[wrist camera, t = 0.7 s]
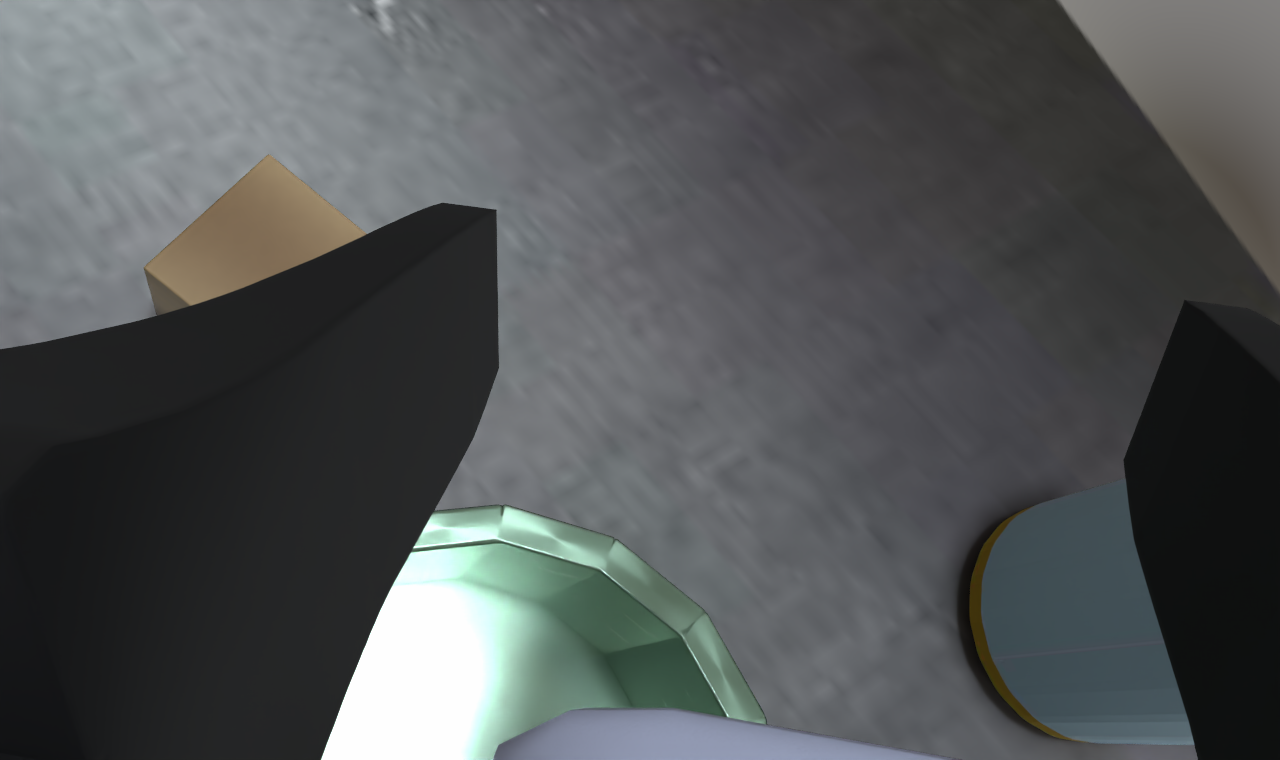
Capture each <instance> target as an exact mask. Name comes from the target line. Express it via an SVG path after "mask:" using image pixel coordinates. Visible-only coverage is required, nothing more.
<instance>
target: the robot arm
mask: <svg viewBox="0 0 1280 760" xmlns="http://www.w3.org/2000/svg"><path fill="white" fill-rule="evenodd" d="M498 369H499V353H498V288H497V223H496V210H493V209H486V208H478V207H471V206H463V205H455V204H448V203H440V204H437V205H433V206H430V207H427V208H425V209H422V210H420V211H417V212H415V213H412V214H410V215H408V216H406V217H403V218H401V219H399V220H397V221H395V222H392V223H390V224H388V225H386V226H384V227H382V228H379V229H377V230H375V231H373V232H371V233H369V234H367V235H364V236H362V237H360V238H358V239H356V240H354V241H351V242H349V243H347V244H345V245H343V246H341V247H338V248H336V249H334V250H332V251H330V252H328V253H325V254H323V255H321V256H319V257H317V258H314V259H312V260H310V261H307V262H305V263H302V264H300V265H297V266H295V267H292V268H290V269H288V270H285V271H283V272H280V273H278V274H275V275H273V276H270V277H268V278H266V279H263V280H261V281H258V282H256V283H253V284H251V285H248V286H246V287H244V288H241V289H238V290H236V291H233V292H230V293H227V294H224V295H222V296H219V297H216V298H213V299H210V300H207V301H204V302H201V303H198V304H195V305H191V306H188V307H185V308H181V309H178V310H175V311H171V312H168V313H165V314H161V315H158V316H155V317H151V318H147V319H144V320H140V321H136V322H132V323H128V324H123V325H119V326H114V327H110V328H105V329H101V330H96V331H92V332H87V333H83V334H78V335H74V336H69V337H65V338H60V339H56V340H51V341H47V342H42V343H36V344H31V345H25V346H19V347H13V348H6V349H0V760H321V759H322V757H323V754H324V751H325V749H326V746H327V743H328V741H329V738H330V735H331V733H332V730H333V728H334V725H335V722H336V720H337V717H338V714H339V712H340V709H341V706H342V704H343V701H344V699H345V696H346V693H347V691H348V688H349V686H350V683H351V681H352V678H353V676H354V674H355V671H356V669H357V666H358V664H359V661H360V659H361V656H362V654H363V651H364V649H365V646H366V644H367V641H368V639H369V637H370V634H371V632H372V629H373V627H374V624H375V622H376V619H377V617H378V615H379V613H380V611H381V609H382V607H383V605H384V603H385V601H386V599H387V597H388V594H389V592H390V590H391V588H392V586H393V584H394V582H395V581H396V579H397V577H398V575H399V573H400V571H401V570H402V568H403V566H404V564H405V562H406V561H407V559H408V557H409V555H410V553H411V552H412V550H413V548H414V546H415V544H416V542H417V541H418V539H419V537H420V535H421V533H422V532H423V530H424V528H425V526H426V524H427V523H428V521H429V519H430V517H431V515H432V514H433V512H434V510H435V508H436V506H437V504H438V503H439V501H440V499H441V497H442V495H443V494H444V492H445V490H446V488H447V486H448V484H449V483H450V481H451V479H452V477H453V475H454V473H455V471H456V470H457V468H458V466H459V464H460V462H461V460H462V459H463V457H464V455H465V453H466V451H467V449H468V447H469V445H470V443H471V441H472V440H473V438H474V435H475V432H476V430H477V427H478V425H479V422H480V419H481V417H482V414H483V411H484V409H485V406H486V403H487V400H488V397H489V395H490V392H491V389H492V386H493V383H494V380H495V377H496V374H497V371H498ZM1124 468H1125V477H1126V486H1127V495H1128V504H1129V511H1130V517H1131V524H1132V531H1133V538H1134V542H1135V546H1136V549H1137V553H1138V557H1139V560H1140V564H1141V567H1142V570H1143V574H1144V577H1145V580H1146V584H1147V587H1148V591H1149V594H1150V597H1151V601H1152V604H1153V607H1154V611H1155V614H1156V617H1157V620H1158V624H1159V627H1160V630H1161V633H1162V636H1163V640H1164V643H1165V646H1166V649H1167V653H1168V656H1169V659H1170V662H1171V666H1172V669H1173V672H1174V675H1175V679H1176V682H1177V685H1178V688H1179V692H1180V695H1181V698H1182V701H1183V705H1184V708H1185V711H1186V714H1187V718H1188V721H1189V725H1190V729H1191V733H1192V737H1193V741H1194V745H1195V749H1196V753H1197V757H1198V760H1280V326H1279V325H1278V324H1276V323H1274V322H1273V321H1271V320H1269V319H1268V318H1266V317H1264V316H1262V315H1260V314H1258V313H1256V312H1254V311H1252V310H1250V309H1248V308H1241V307H1233V306H1226V305H1218V304H1210V303H1203V302H1195V301H1188V300H1185V301H1184V303H1183V306H1182V309H1181V311H1180V314H1179V316H1178V319H1177V322H1176V324H1175V327H1174V330H1173V332H1172V335H1171V337H1170V340H1169V343H1168V345H1167V348H1166V351H1165V353H1164V356H1163V358H1162V361H1161V364H1160V366H1159V369H1158V371H1157V374H1156V377H1155V379H1154V382H1153V385H1152V387H1151V390H1150V392H1149V395H1148V398H1147V400H1146V403H1145V406H1144V408H1143V411H1142V413H1141V416H1140V419H1139V421H1138V424H1137V426H1136V429H1135V432H1134V434H1133V437H1132V440H1131V442H1130V445H1129V447H1128V450H1127V453H1126V455H1125V458H1124ZM492 760H961V759H956V758H950V757H945V756H939V755H933V754H928V753H922V752H917V751H911V750H906V749H900V748H894V747H889V746H883V745H878V744H872V743H867V742H861V741H855V740H850V739H844V738H839V737H833V736H828V735H822V734H816V733H811V732H805V731H800V730H794V729H789V728H783V727H778V726H772V725H766V724H761V723H755V722H750V721H744V720H739V719H733V718H727V717H722V716H716V715H711V714H705V713H700V712H694V711H688V710H683V709H677V708H580V709H575V710H570V711H568V712H565V713H563V714H561V715H559V716H557V717H555V718H553V719H551V720H549V721H547V722H545V723H543V724H541V725H539V726H537V727H535V728H532V729H530V730H528V731H526V732H524V733H522V734H520V735H518V736H516V737H514V738H512V739H510V740H508V741H506V742H504V743H502V744H500V745H498V747H497V750H496V752H495V754H494V757H493V759H492Z"/></svg>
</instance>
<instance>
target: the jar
mask: <svg viewBox="0 0 1280 760" xmlns="http://www.w3.org/2000/svg"><path fill="white" fill-rule="evenodd" d="M580 708H677V709H683V710H688V711H694V712H700V713H705V714H711V715H716V716H722V717H727V718H733V719H739V720H744V721H750V722H755V723H761V724H766V725H767V721H766V717H765V716H764V712H763V710H762V709H761V707H760V705H759V703H758V702H757V700H756V698H755V696H754V695H753V693H752V691H751V689H750V688H749V686H748V684H747V682H746V681H745V679H744V677H743V675H742V674H741V672H740V670H739V668H738V667H737V665H736V663H735V661H734V660H733V658H732V656H731V654H730V653H729V651H728V649H727V647H726V646H725V644H724V642H723V640H722V639H721V637H720V635H719V633H718V632H717V630H716V628H715V626H714V625H713V623H712V621H711V619H710V618H709V616H708V614H707V613H706V612H705V611H704V609H703V608H701V607H700V606H699V605H698V604H696V603H695V602H694V601H693V600H692V599H690V598H689V597H688V596H687V595H685V594H684V593H683V592H682V591H680V590H679V589H678V588H677V587H675V586H674V585H673V584H672V583H671V582H669V581H668V580H667V579H666V578H664V577H663V576H662V575H661V574H659V573H658V572H657V571H656V570H655V569H653V568H652V567H651V566H650V565H648V564H647V563H646V562H645V561H643V560H642V559H641V558H640V557H639V556H637V555H636V554H635V553H634V552H632V551H631V550H630V549H629V548H627V547H626V546H625V545H624V544H623V543H621V542H620V541H619V540H618V539H614V538H613V537H611V536H608V535H605V534H602V533H598V532H595V531H592V530H588V529H585V528H582V527H578V526H575V525H572V524H568V523H565V522H562V521H559V520H555V519H552V518H549V517H545V516H542V515H539V514H535V513H532V512H529V511H525V510H522V509H519V508H516V507H512V506H509V505H503V506H502V505H488V506H478V507H468V508H458V509H447V510H437V511H434V512H433V514H432V515H431V517H430V519H429V521H428V523H427V524H426V526H425V528H424V530H423V532H422V533H421V535H420V537H419V539H418V541H417V542H416V544H415V546H414V548H413V550H412V552H411V553H410V555H409V557H408V559H407V561H406V562H405V564H404V566H403V568H402V570H401V571H400V573H399V575H398V577H397V579H396V581H395V582H394V584H393V586H392V588H391V590H390V592H389V594H388V597H387V599H386V601H385V603H384V605H383V607H382V609H381V611H380V613H379V615H378V617H377V619H376V622H375V624H374V627H373V629H372V632H371V634H370V637H369V639H368V641H367V644H366V646H365V649H364V651H363V654H362V656H361V659H360V661H359V664H358V666H357V669H356V671H355V674H354V676H353V678H352V681H351V683H350V686H349V688H348V691H347V693H346V696H345V699H344V701H343V704H342V706H341V709H340V712H339V714H338V717H337V720H336V722H335V725H334V728H333V730H332V733H331V735H330V738H329V741H328V743H327V746H326V749H325V751H324V754H323V757H322V759H321V760H492V759H493V757H494V754H495V752H496V750H497V747H498V745H500V744H502V743H504V742H506V741H508V740H510V739H512V738H514V737H516V736H518V735H520V734H522V733H524V732H526V731H528V730H530V729H532V728H535V727H537V726H539V725H541V724H543V723H545V722H547V721H549V720H551V719H553V718H555V717H557V716H559V715H561V714H563V713H565V712H568V711H570V710H575V709H580Z"/></svg>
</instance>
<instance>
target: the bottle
mask: <svg viewBox="0 0 1280 760" xmlns="http://www.w3.org/2000/svg"><path fill="white" fill-rule="evenodd" d="M969 614H970V623H971V628H972V632H973V636H974V640H975V644H976V649H977V652H978V655H979V658H980V660H981V663H982V664H983V666H984V668H985V670H986V672H987V674H988V676H989V678H990V679H991V681H992V683H993V685H994V687H995V688H996V690H997V691H998V693H999V694H1000V695H1001V697H1002V698H1003V699H1004V700H1005V701H1006V702H1007V703H1008V704H1009V705H1010V706H1011V707H1012V708H1013V709H1014V710H1015V711H1016V712H1017V713H1018V715H1019V716H1020V717H1022V718H1023V719H1024V720H1026V721H1027V722H1028V723H1030V724H1032V725H1033V726H1035V727H1037V728H1039V729H1041V730H1042V731H1044V732H1046V733H1048V734H1049V735H1052V736H1054V737H1057V738H1061V739H1067V740H1073V741H1079V742H1092V743H1101V744H1163V745H1194V741H1193V737H1192V733H1191V729H1190V725H1189V721H1188V718H1187V714H1186V711H1185V708H1184V705H1183V701H1182V698H1181V695H1180V692H1179V688H1178V685H1177V682H1176V679H1175V675H1174V672H1173V669H1172V666H1171V662H1170V659H1169V656H1168V653H1167V649H1166V646H1165V643H1164V640H1163V636H1162V633H1161V630H1160V627H1159V624H1158V620H1157V617H1156V614H1155V611H1154V607H1153V604H1152V601H1151V597H1150V594H1149V591H1148V587H1147V584H1146V580H1145V577H1144V574H1143V570H1142V567H1141V564H1140V560H1139V557H1138V553H1137V549H1136V546H1135V542H1134V538H1133V531H1132V524H1131V517H1130V511H1129V504H1128V495H1127V486H1126V478H1124V479H1120V480H1117V481H1114V482H1110V483H1107V484H1103V485H1100V486H1097V487H1093V488H1090V489H1086V490H1083V491H1080V492H1076V493H1073V494H1070V495H1066V496H1063V497H1059V498H1056V499H1053V500H1049V501H1046V502H1043V503H1040V504H1037V505H1035V506H1032V507H1029V508H1026V509H1023V510H1021V511H1020V512H1018V513H1016V514H1015V515H1013V516H1011V517H1010V518H1008V519H1006V520H1004V521H1003V522H1002V523H1001V524H1000V525H999V526H998V527H997V528H996V530H995V531H994V532H993V533H992V535H991V536H990V537H989V539H988V540H987V541H986V542H985V544H984V545H983V547H982V549H981V551H980V554H979V557H978V560H977V562H976V565H975V568H974V571H973V574H972V579H971V584H970V610H969Z"/></svg>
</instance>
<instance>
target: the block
mask: <svg viewBox="0 0 1280 760" xmlns="http://www.w3.org/2000/svg"><path fill="white" fill-rule="evenodd" d="M364 235H367V234H366V233H365V232H364V231H362V230H361V229H360V228H359V227H358V226H356V225H355V224H354V223H353V222H351V221H350V220H349V219H348V218H347V217H345V216H344V215H343V214H342V213H340V212H339V211H338V210H337V209H336V208H334V207H333V206H332V205H331V204H329V203H328V202H327V201H326V200H325V199H323V198H322V197H321V196H320V195H318V194H317V193H316V192H315V191H314V190H312V189H311V188H310V187H309V186H307V185H306V184H305V183H304V182H303V181H301V180H300V179H299V178H298V177H296V176H295V175H294V174H293V173H292V172H290V171H289V170H288V169H287V168H285V167H284V166H283V165H282V164H281V163H279V162H278V161H277V160H276V159H274V158H273V157H272V156H271V155H267V156H266V157H265V158H264V159H262V160H261V161H260V162H259V163H258V164H257V165H256V166H255V167H254V168H253V169H251V170H250V171H249V172H248V173H247V174H246V175H245V176H244V177H243V178H242V179H240V180H239V181H238V182H237V183H236V184H235V185H234V186H233V187H232V188H231V189H229V190H228V191H227V192H226V193H225V194H224V195H223V196H222V197H221V198H219V199H218V200H217V201H216V202H215V203H214V204H213V205H212V206H211V207H210V208H208V209H207V210H206V211H205V212H204V213H203V214H202V215H201V216H200V217H199V218H197V219H196V220H195V221H194V222H193V223H192V224H191V225H190V226H189V227H188V228H186V229H185V230H184V231H183V232H182V233H181V234H180V235H179V236H178V237H177V238H175V239H174V240H173V241H172V242H171V243H170V244H169V245H168V246H167V247H165V248H164V249H163V250H162V251H161V252H160V253H159V254H158V255H157V256H156V257H154V258H153V259H152V260H151V261H150V262H149V263H148V264H147V265H146V266H145V267H144V271H145V274H146V278H147V281H148V285H149V289H150V292H151V296H152V299H153V303H154V307H155V310H156V314H157V316H158V315H161V314H165V313H168V312H171V311H175V310H178V309H181V308H185V307H188V306H191V305H195V304H198V303H201V302H204V301H207V300H210V299H213V298H216V297H219V296H222V295H224V294H227V293H230V292H233V291H236V290H238V289H241V288H244V287H246V286H248V285H251V284H253V283H256V282H258V281H261V280H263V279H266V278H268V277H270V276H273V275H275V274H278V273H280V272H283V271H285V270H288V269H290V268H292V267H295V266H297V265H300V264H302V263H305V262H307V261H310V260H312V259H314V258H317V257H319V256H321V255H323V254H325V253H328V252H330V251H332V250H334V249H336V248H338V247H341V246H343V245H345V244H347V243H349V242H351V241H354V240H356V239H358V238H360V237H362V236H364Z"/></svg>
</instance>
